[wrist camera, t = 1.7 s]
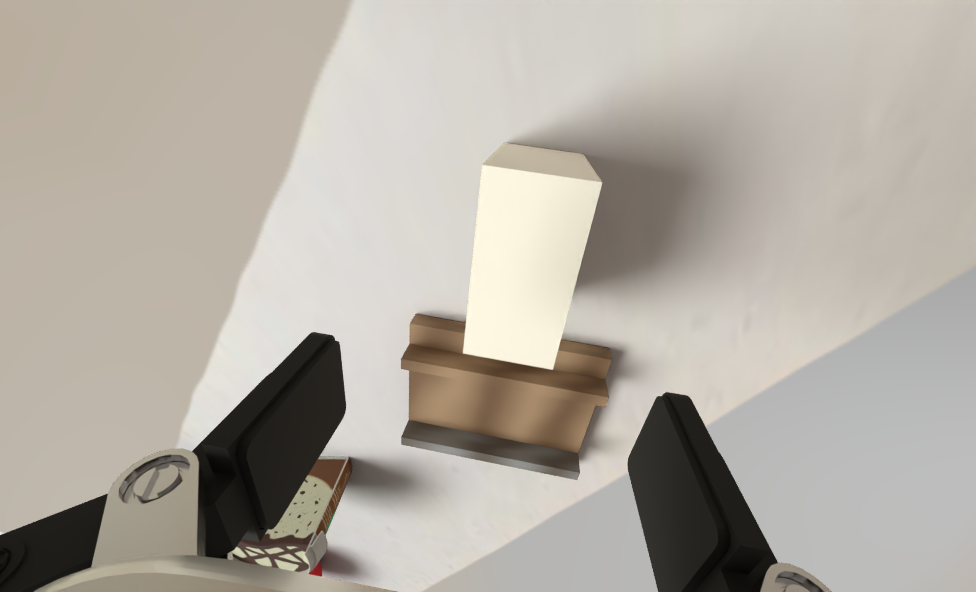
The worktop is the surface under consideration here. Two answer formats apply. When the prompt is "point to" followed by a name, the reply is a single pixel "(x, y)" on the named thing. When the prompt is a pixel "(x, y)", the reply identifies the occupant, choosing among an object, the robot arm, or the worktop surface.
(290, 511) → the food container
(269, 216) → the worktop surface
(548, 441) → the shelf
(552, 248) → the box
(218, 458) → the robot arm
